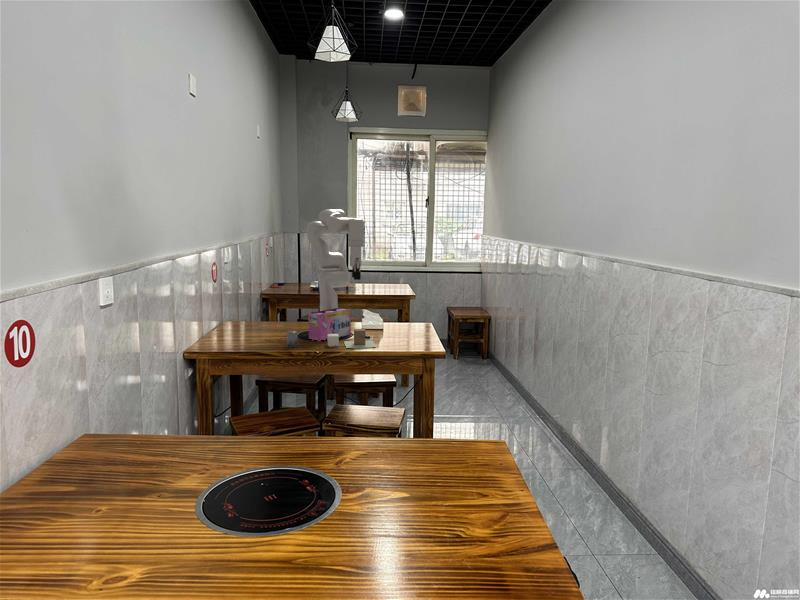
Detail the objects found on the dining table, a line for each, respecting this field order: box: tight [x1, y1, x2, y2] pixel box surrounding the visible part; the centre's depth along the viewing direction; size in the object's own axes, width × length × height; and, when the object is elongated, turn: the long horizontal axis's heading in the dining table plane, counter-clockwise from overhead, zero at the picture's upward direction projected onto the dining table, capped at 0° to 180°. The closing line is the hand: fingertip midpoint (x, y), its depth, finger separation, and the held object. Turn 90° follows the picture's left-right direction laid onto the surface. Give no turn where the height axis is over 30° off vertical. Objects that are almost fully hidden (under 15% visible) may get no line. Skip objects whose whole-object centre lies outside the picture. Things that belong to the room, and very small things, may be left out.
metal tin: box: [286, 330, 299, 348], centre depth 261 cm, size 5×5×7 cm
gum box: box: [308, 307, 352, 342], centre depth 283 cm, size 24×8×14 cm, turn 141°
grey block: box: [326, 334, 340, 347], centre depth 265 cm, size 5×5×5 cm
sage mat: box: [343, 340, 377, 349], centre depth 266 cm, size 14×14×1 cm
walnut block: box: [353, 327, 366, 345], centre depth 265 cm, size 5×5×7 cm
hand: (356, 278), depth 276 cm, fingers open, 9 cm apart
